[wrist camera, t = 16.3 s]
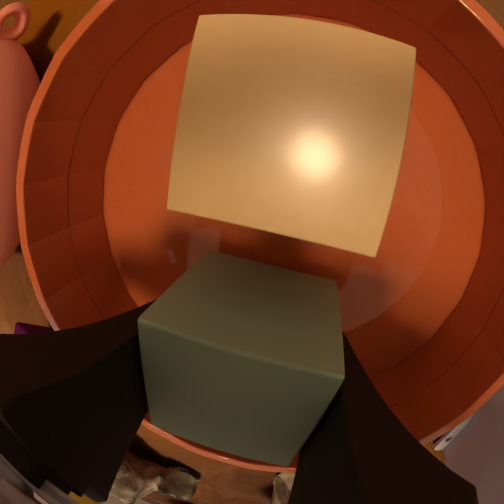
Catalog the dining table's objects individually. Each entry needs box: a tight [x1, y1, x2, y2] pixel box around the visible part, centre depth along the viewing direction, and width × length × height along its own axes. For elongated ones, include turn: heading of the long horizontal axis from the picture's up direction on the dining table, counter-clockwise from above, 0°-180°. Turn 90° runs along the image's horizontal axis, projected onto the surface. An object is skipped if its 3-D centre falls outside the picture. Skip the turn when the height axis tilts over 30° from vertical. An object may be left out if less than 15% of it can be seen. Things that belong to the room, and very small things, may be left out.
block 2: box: [138, 250, 345, 466], centre depth 8 cm, size 4×4×4 cm
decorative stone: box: [109, 451, 200, 504], centre depth 17 cm, size 16×9×10 cm, turn 56°
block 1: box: [167, 14, 416, 257], centre depth 7 cm, size 4×4×4 cm
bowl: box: [16, 0, 504, 474], centre depth 8 cm, size 17×17×5 cm
